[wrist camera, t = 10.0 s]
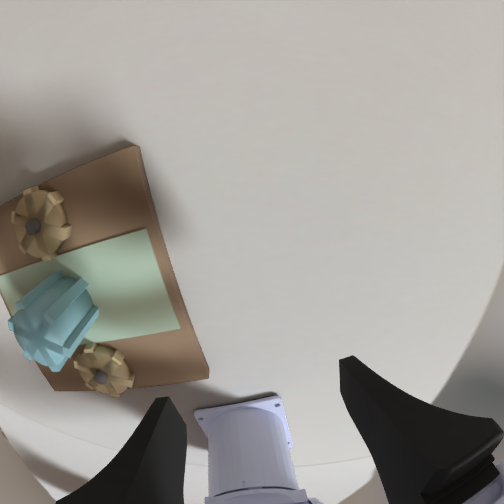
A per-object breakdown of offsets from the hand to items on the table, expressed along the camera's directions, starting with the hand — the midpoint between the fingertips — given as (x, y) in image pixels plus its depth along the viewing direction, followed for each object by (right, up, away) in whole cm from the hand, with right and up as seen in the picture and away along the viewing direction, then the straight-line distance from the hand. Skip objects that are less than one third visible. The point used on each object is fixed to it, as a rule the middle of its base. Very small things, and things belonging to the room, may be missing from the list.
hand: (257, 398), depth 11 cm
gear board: (-13, +3, +8) cm, 16 cm away
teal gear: (-13, +2, +6) cm, 15 cm away
